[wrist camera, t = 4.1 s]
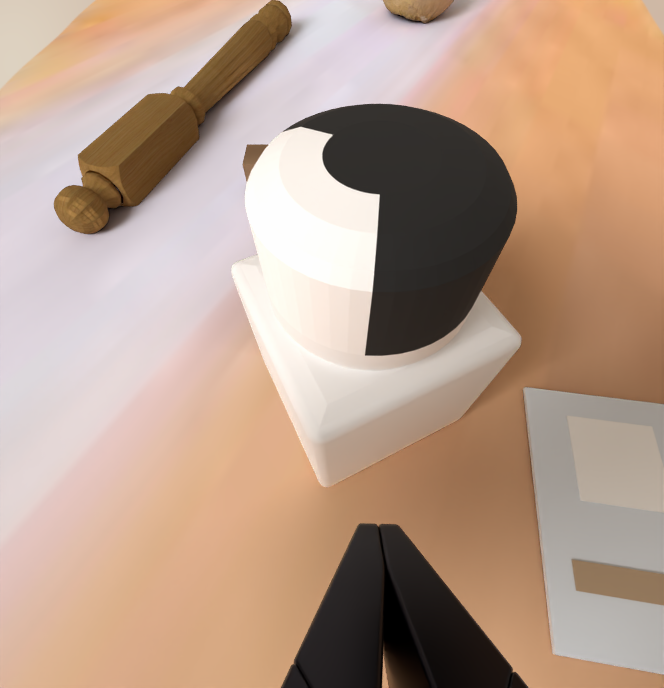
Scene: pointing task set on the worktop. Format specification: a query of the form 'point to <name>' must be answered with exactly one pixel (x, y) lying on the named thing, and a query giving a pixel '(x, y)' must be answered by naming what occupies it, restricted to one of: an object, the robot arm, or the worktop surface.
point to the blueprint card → (600, 524)
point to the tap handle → (163, 128)
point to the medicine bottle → (376, 277)
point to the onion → (418, 8)
